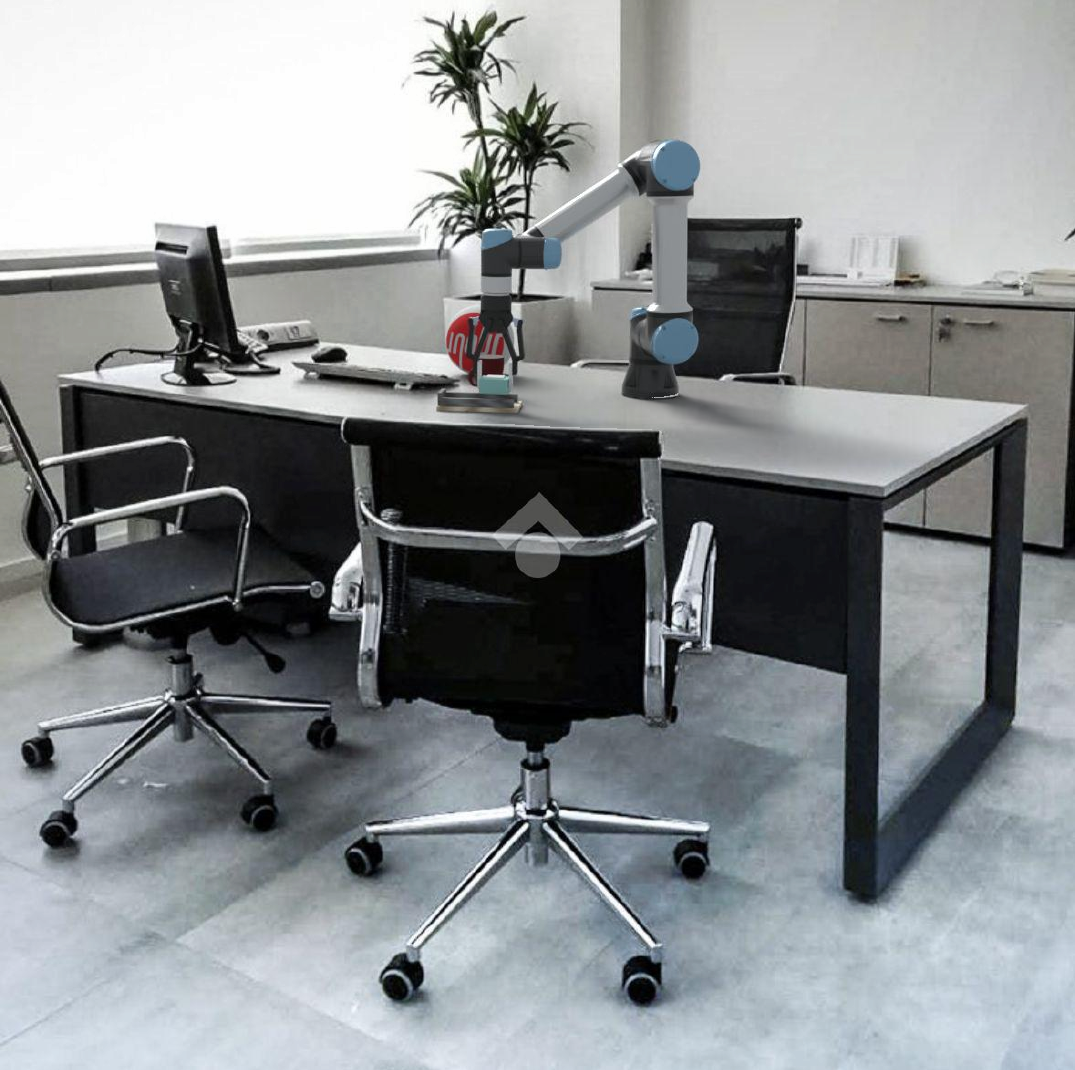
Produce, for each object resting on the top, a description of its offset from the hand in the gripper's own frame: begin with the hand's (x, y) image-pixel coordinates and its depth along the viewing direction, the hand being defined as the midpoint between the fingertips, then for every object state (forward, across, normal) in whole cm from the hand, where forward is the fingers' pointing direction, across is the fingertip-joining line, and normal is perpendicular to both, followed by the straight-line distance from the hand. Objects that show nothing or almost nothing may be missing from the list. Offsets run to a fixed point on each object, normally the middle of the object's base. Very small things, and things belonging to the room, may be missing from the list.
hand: (495, 387), depth 326 cm
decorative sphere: (+5, +11, -52) cm, 53 cm away
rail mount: (+5, +4, 0) cm, 7 cm away
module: (+1, 0, 0) cm, 1 cm away
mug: (+5, +5, -19) cm, 20 cm away
